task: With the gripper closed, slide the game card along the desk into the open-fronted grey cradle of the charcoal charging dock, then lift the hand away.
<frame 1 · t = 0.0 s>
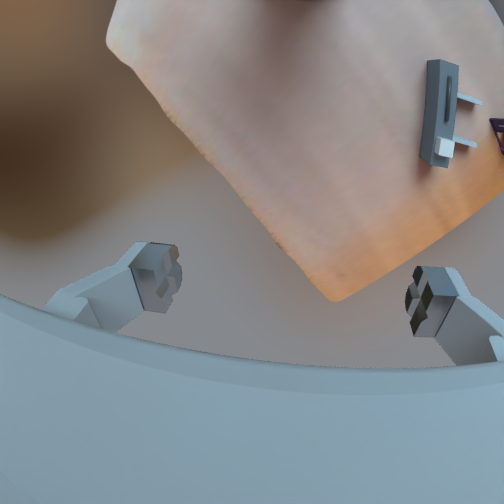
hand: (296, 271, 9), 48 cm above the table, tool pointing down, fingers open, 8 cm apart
charging dock: (467, 120, 41), on the table
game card: (502, 132, 40), on the table
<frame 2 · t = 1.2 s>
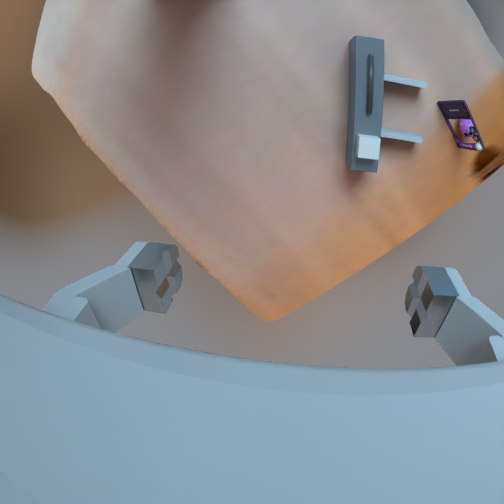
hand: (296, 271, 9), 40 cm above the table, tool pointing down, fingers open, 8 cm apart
charging dock: (410, 109, 37), on the table
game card: (456, 119, 36), on the table
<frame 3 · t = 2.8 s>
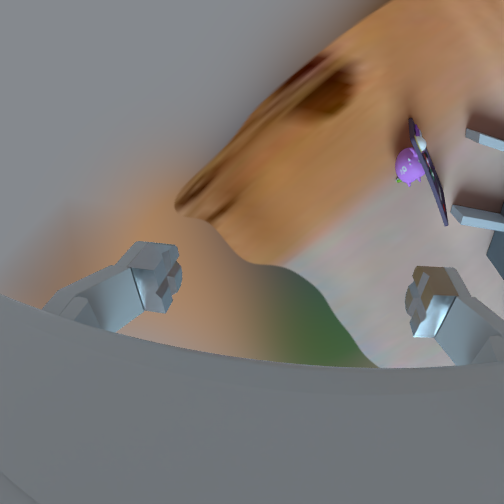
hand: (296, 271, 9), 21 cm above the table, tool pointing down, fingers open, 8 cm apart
charging dock: (469, 173, 24), on the table
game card: (410, 164, 26), on the table
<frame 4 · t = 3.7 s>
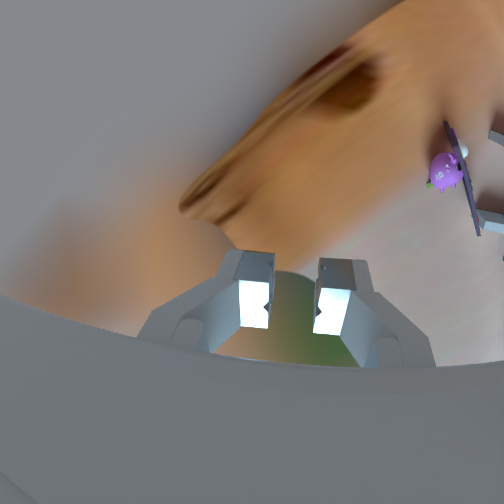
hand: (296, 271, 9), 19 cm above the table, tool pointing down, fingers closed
charging dock: (491, 177, 22), on the table
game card: (441, 168, 24), on the table
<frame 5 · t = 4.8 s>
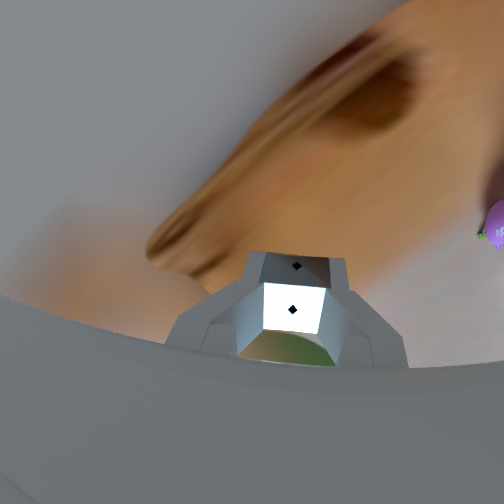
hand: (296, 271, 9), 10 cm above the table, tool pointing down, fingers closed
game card: (495, 215, 16), on the table
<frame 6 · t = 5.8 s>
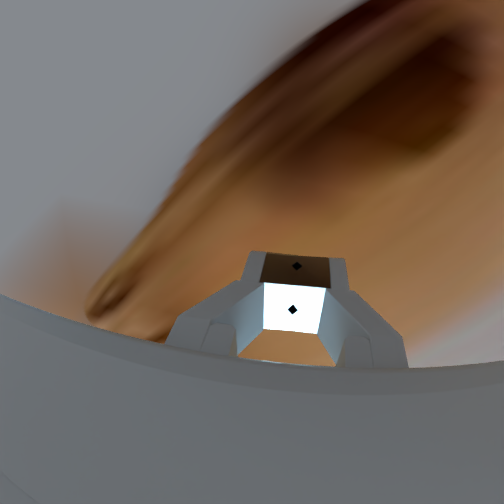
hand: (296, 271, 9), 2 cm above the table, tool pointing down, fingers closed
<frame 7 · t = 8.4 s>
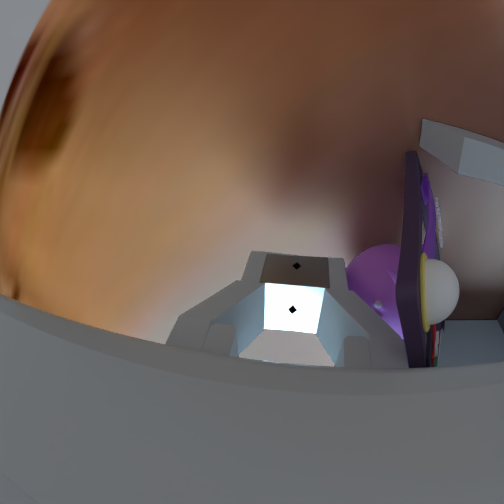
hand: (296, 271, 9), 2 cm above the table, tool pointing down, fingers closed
charging dock: (430, 249, 10), on the table
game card: (387, 265, 11), on the table, touching gripper
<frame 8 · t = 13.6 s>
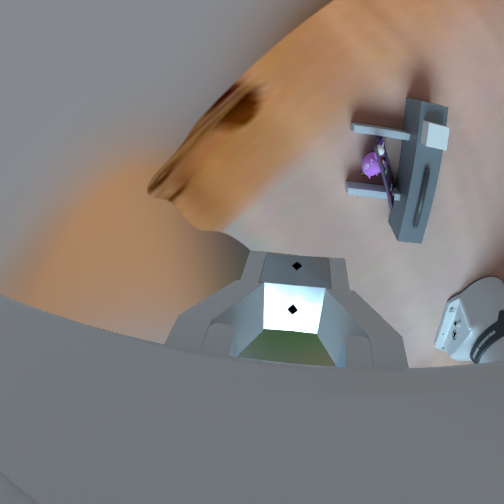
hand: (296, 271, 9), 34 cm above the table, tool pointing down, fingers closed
charging dock: (358, 156, 39), on the table
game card: (373, 164, 39), on the table
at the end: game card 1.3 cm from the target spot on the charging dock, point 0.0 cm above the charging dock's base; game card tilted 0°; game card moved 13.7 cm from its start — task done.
